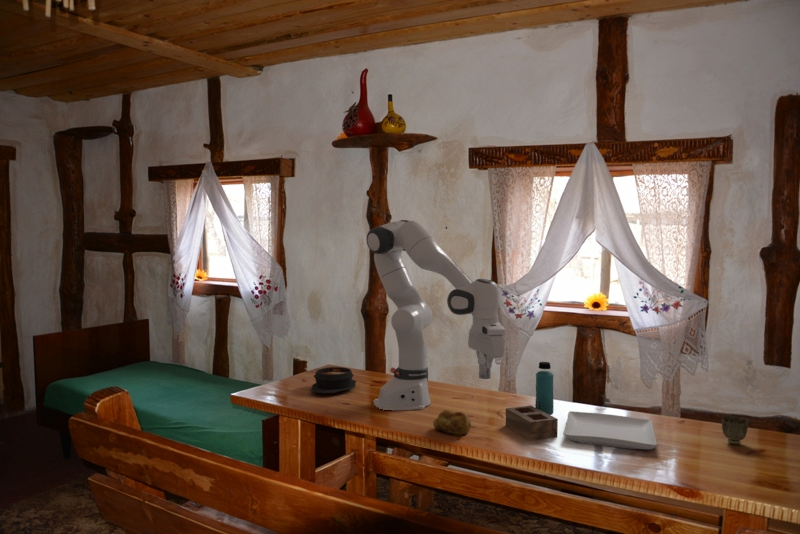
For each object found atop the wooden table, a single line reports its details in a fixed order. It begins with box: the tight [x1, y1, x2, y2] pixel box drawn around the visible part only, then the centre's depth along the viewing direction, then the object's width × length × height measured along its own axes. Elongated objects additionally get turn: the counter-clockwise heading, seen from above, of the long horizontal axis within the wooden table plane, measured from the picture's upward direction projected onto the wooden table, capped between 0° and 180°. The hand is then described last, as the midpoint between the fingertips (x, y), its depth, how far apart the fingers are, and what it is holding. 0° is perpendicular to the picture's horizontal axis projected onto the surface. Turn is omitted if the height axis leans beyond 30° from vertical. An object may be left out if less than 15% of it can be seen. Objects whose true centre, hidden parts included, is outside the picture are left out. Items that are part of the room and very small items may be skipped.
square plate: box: [563, 410, 658, 451], centre depth 187 cm, size 27×27×4 cm
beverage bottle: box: [534, 361, 555, 416], centre depth 207 cm, size 6×7×20 cm
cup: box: [720, 415, 749, 446], centre depth 179 cm, size 8×7×8 cm
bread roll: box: [432, 409, 472, 436], centre depth 191 cm, size 13×10×8 cm
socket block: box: [505, 405, 559, 442], centre depth 191 cm, size 10×16×6 cm, turn 19°
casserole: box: [309, 366, 357, 395], centre depth 245 cm, size 25×19×8 cm
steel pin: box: [478, 349, 492, 380], centre depth 199 cm, size 4×4×10 cm
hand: (484, 365), depth 199 cm, fingers closed on steel pin, 4 cm apart
